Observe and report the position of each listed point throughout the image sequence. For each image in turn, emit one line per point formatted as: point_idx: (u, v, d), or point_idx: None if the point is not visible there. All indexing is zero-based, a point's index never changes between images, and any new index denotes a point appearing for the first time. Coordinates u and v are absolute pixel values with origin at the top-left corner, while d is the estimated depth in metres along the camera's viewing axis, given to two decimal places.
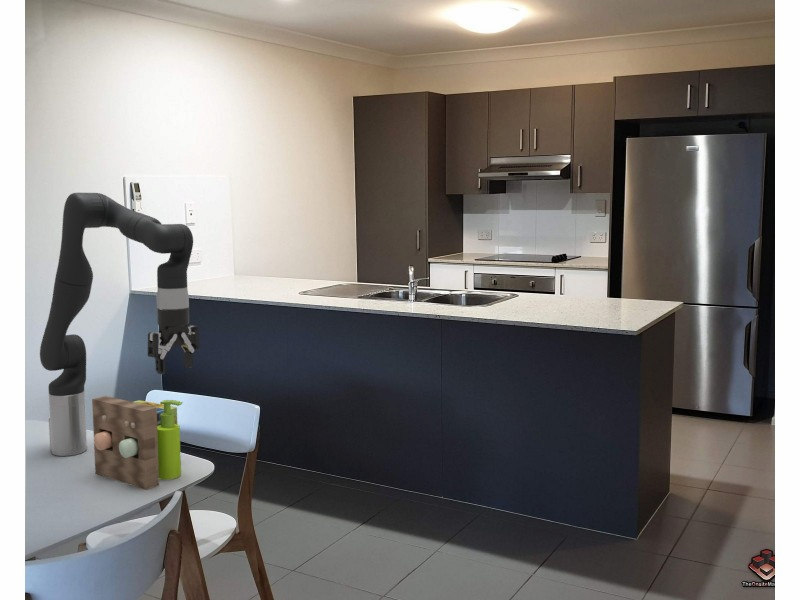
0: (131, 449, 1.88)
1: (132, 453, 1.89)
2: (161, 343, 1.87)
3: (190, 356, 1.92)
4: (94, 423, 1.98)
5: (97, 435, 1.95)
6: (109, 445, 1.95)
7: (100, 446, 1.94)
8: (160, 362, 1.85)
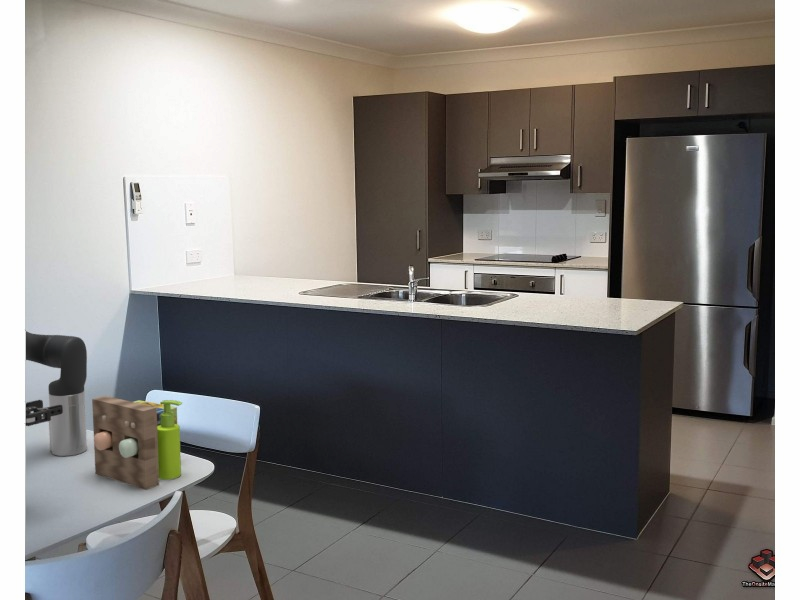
0: (131, 449, 1.88)
1: (132, 453, 1.89)
2: None
3: None
4: (94, 423, 1.98)
5: (97, 435, 1.95)
6: (109, 445, 1.95)
7: (100, 446, 1.94)
8: None
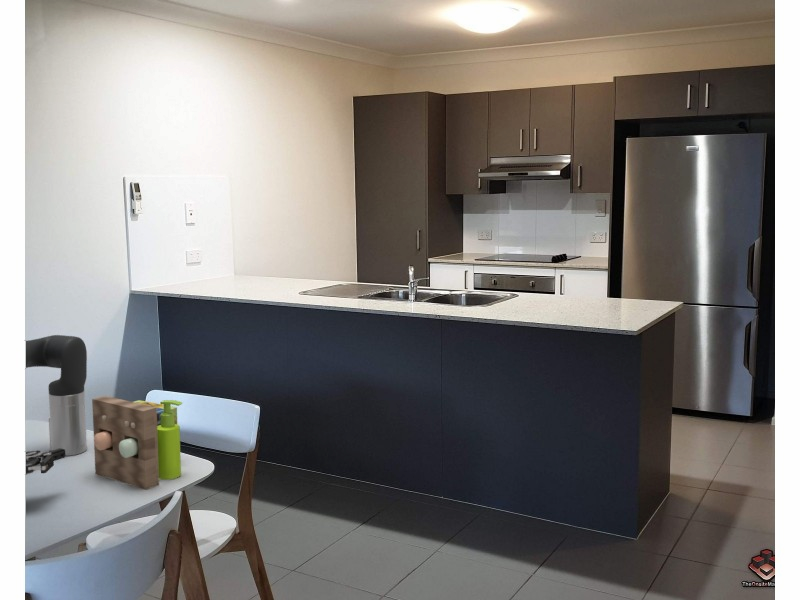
0: (131, 449, 1.88)
1: (132, 453, 1.89)
2: None
3: None
4: (94, 423, 1.98)
5: (97, 435, 1.95)
6: (109, 445, 1.95)
7: (100, 446, 1.94)
8: None
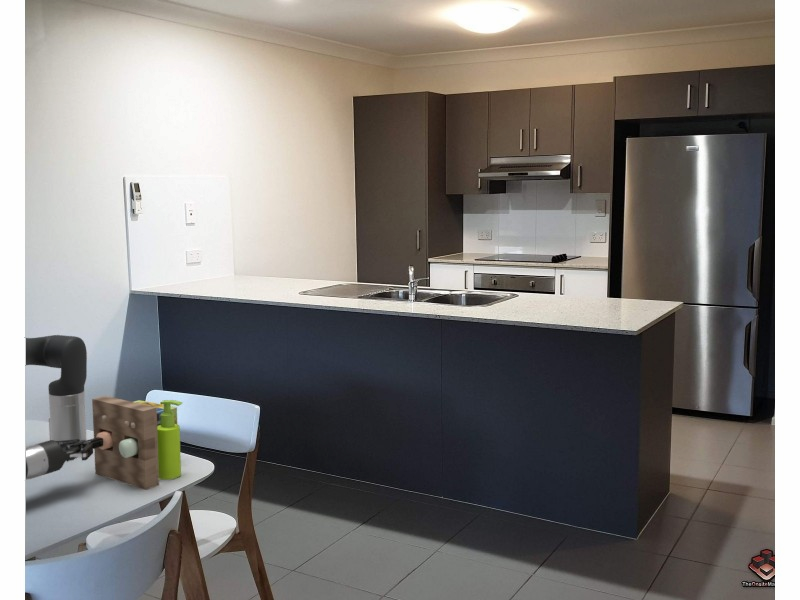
0: (131, 449, 1.88)
1: (132, 453, 1.89)
2: None
3: None
4: (94, 423, 1.98)
5: (99, 434, 1.95)
6: (111, 444, 1.95)
7: None
8: None
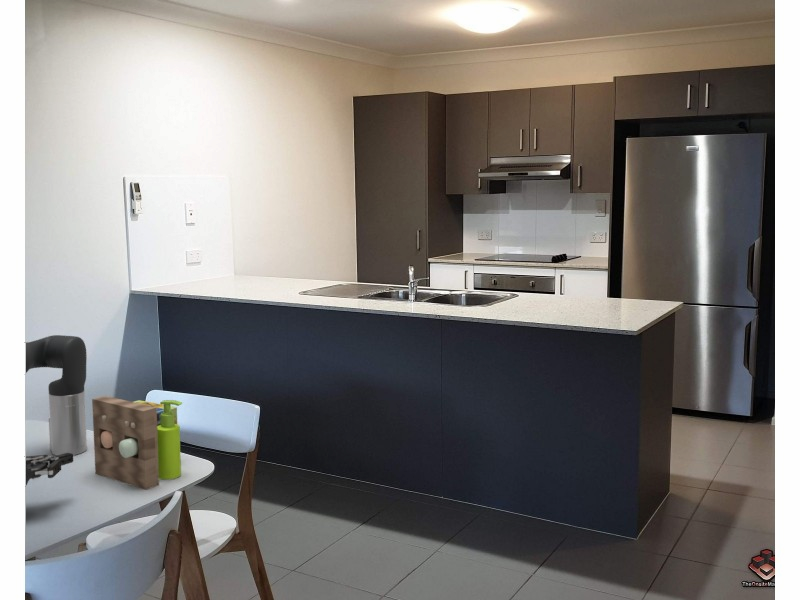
0: (131, 449, 1.88)
1: (132, 453, 1.89)
2: None
3: None
4: (94, 423, 1.98)
5: (104, 433, 1.96)
6: None
7: (107, 444, 1.96)
8: None
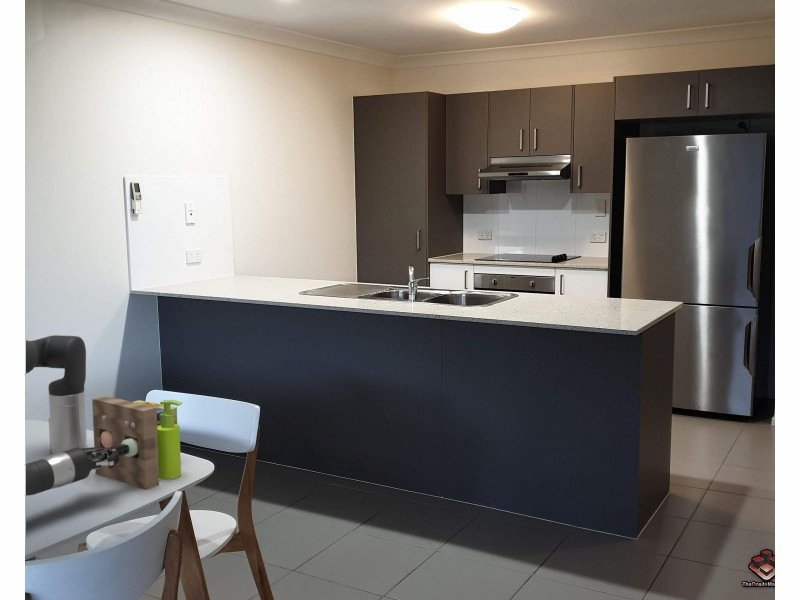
0: (133, 449, 1.89)
1: (134, 452, 1.89)
2: None
3: None
4: (94, 423, 1.98)
5: (104, 433, 1.96)
6: None
7: (107, 444, 1.96)
8: None
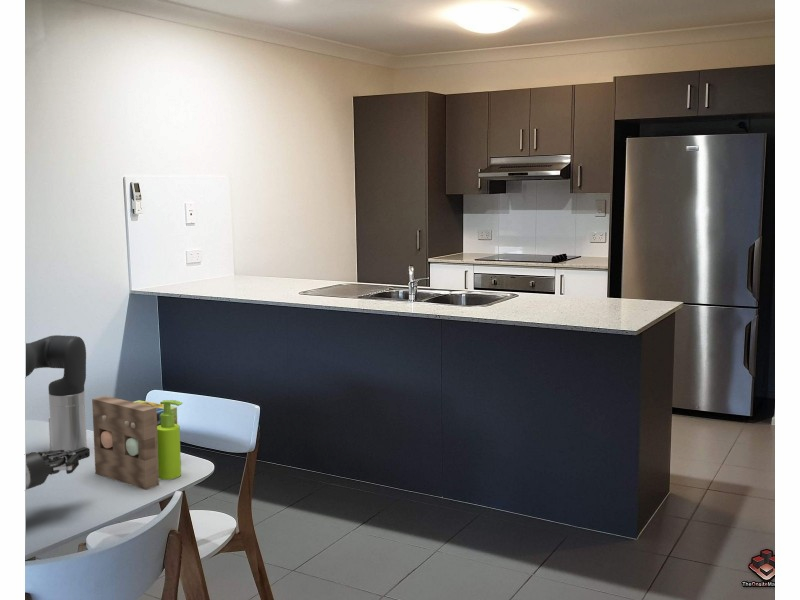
0: None
1: None
2: None
3: None
4: (94, 423, 1.98)
5: (104, 433, 1.96)
6: None
7: (107, 444, 1.96)
8: None
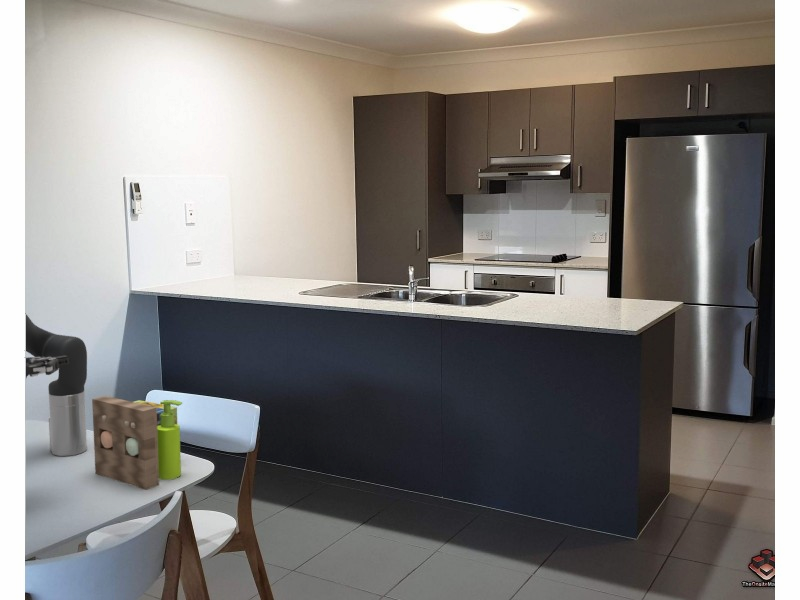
0: None
1: None
2: None
3: None
4: (94, 423, 1.98)
5: (104, 433, 1.96)
6: None
7: (107, 444, 1.96)
8: None
